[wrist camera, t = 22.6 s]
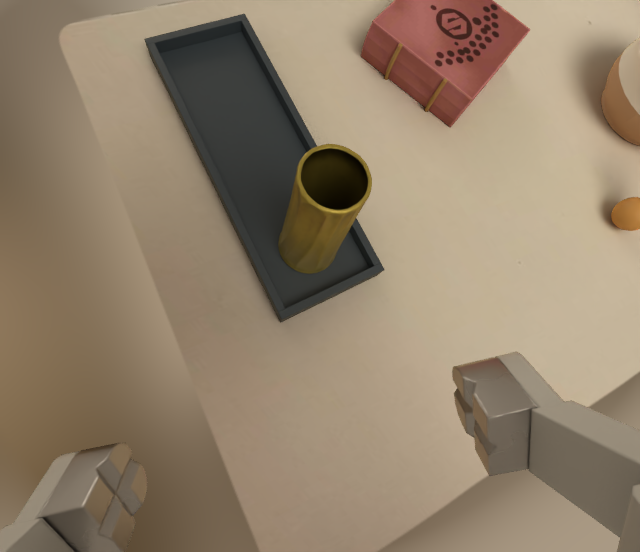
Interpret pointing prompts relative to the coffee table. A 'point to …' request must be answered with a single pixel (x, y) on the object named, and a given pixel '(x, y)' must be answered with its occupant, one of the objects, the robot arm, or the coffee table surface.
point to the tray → (252, 153)
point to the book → (442, 49)
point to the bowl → (624, 94)
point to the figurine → (627, 214)
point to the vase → (323, 206)
